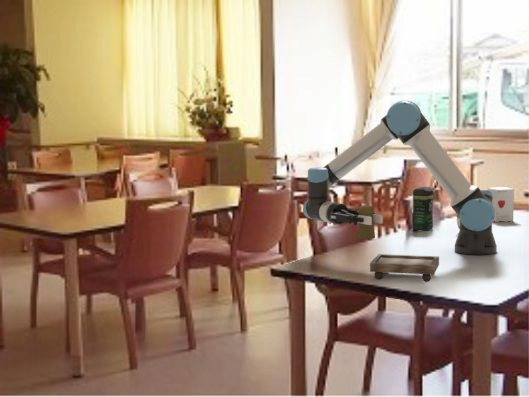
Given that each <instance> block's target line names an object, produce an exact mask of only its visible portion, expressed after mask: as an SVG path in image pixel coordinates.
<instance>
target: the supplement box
mask: <svg viewBox="0 0 529 397" xmlns="http://www.w3.org/2000/svg"><path fill="white" fill-rule="evenodd" d="M486 190H490V191H492V196H493V199H492V206H493V207H494V210H495V217H494V220H493V222H494V221H495V222H494V223H500V222H499V221H510V222H514V207H515V205H514V203H515V188H511V187H505V186H496V187H487V189H486Z"/></svg>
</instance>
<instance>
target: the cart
mask: <svg viewBox="0 0 529 397" xmlns="http://www.w3.org/2000/svg"><path fill="white" fill-rule="evenodd" d="M439 266H440V256H436V255H435V256H434V255H413V254H412V255H410V254H391V253H390V254H387V253H385V254H383V253H378V254H377V255H376V256H375V257H374V258H373V259H372V260H371V262H370V263H369V272H371V273H374V274H373V275H374V278H375V280H379V281H381V280H383V279H384V277H385V274H384V273H386V274H387V273H389V274H390V273H392V274H411V275H421V280H422V281H423V282H424V283H429V282H431V280H432V276H433V275H435V273H436V271H437V270H438V268H439Z"/></svg>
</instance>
